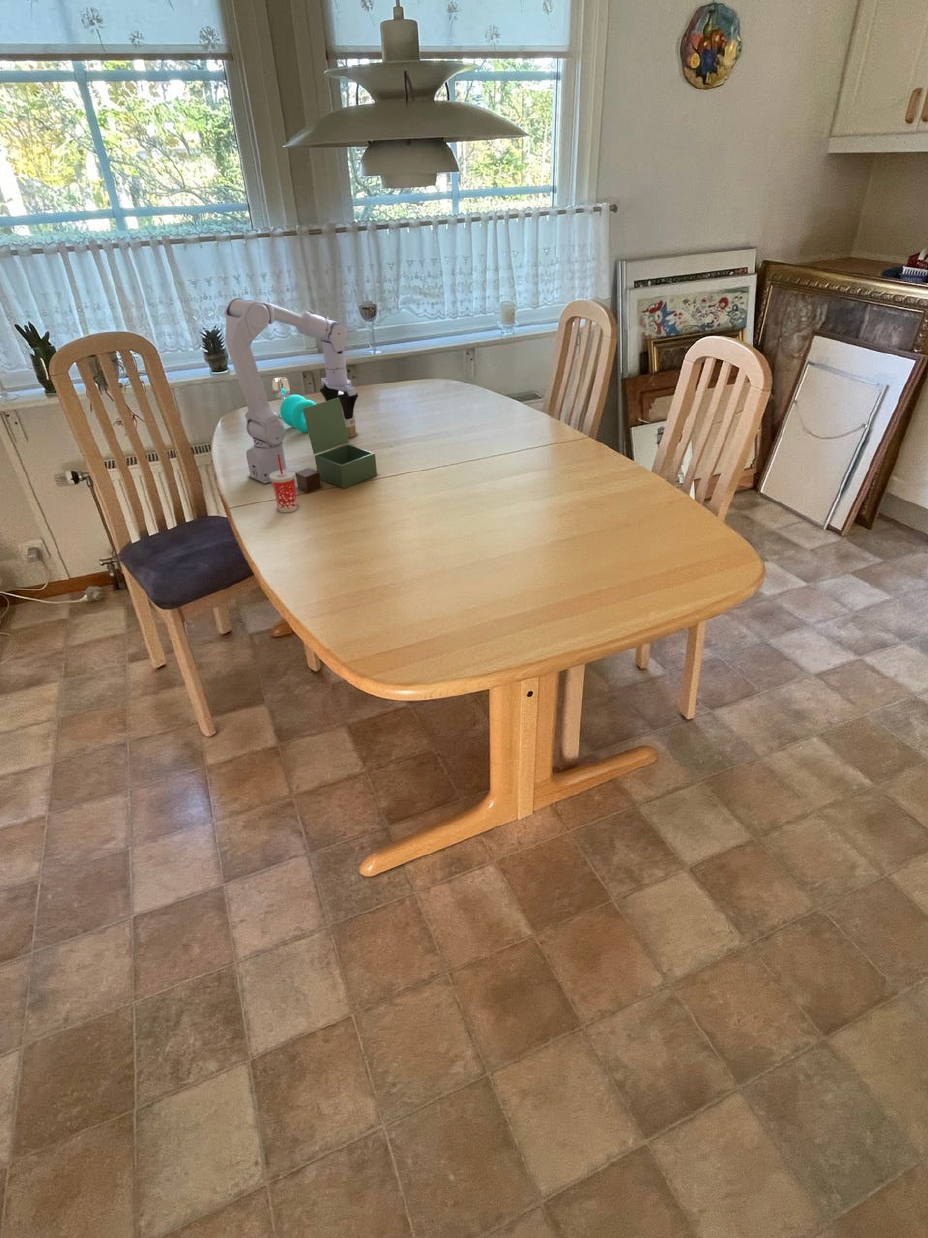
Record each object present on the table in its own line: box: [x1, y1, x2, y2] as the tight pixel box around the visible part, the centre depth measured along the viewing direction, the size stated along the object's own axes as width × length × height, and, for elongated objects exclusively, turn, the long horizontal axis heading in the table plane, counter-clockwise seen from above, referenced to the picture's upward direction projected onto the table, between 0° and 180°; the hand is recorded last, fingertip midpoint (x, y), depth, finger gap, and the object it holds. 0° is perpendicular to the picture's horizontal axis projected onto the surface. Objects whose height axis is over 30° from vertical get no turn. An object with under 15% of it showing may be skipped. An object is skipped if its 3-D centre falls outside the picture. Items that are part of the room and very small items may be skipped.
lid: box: [302, 398, 350, 455], centre depth 185 cm, size 12×12×1 cm
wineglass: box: [271, 376, 292, 418], centre depth 228 cm, size 6×6×12 cm
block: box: [295, 467, 322, 494], centre depth 181 cm, size 4×4×4 cm
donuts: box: [279, 394, 317, 433], centre depth 217 cm, size 10×10×10 cm
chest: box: [314, 443, 378, 489], centre depth 187 cm, size 11×12×6 cm
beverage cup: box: [269, 454, 298, 513], centre depth 169 cm, size 6×6×14 cm
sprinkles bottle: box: [338, 391, 358, 438], centre depth 211 cm, size 5×5×13 cm
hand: (341, 415), depth 199 cm, fingers open, 7 cm apart
